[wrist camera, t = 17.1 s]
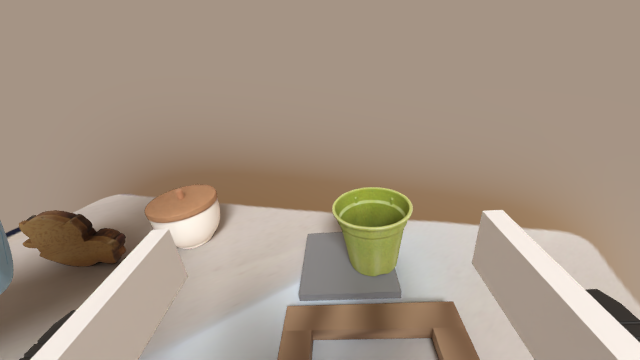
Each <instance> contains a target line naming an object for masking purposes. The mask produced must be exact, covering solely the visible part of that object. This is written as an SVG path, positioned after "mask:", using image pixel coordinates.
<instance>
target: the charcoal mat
mask: <svg viewBox="0 0 640 360" xmlns="http://www.w3.org/2000/svg"><path fill="white" fill-rule="evenodd" d="M377 298H401V289H400V285H399V282H398V278H397V274H396V270H395V268H394V269H393V270H392V271H391V272H390V273H388V274H381V275H378V276H367V275H364V274H361V273H359V272H358V271H356V270H355V269H354V268H353V266H352V264H351V262H350V259H349V254H348V250H347V246H346V243H345V239H344V235H343V232H334V233H315V234H308V237H307V244H306V250H305V257H304V264H303V270H302V277H301V284H300V290H299V299H300V301H312V300H344V299H377Z"/></svg>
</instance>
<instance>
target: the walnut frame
mask: <svg viewBox="0 0 640 360" xmlns="http://www.w3.org/2000/svg"><path fill="white" fill-rule="evenodd" d="M394 338H432V340H433V343H434V346H435V349H436V352H437V355H438V358H439V360H480V359H479V357H478V355H477V353H476V350H475V348H474V346H473V344H472V342H471V339H470V337H469V335H468V333H467V331H466V329H465V326H464V324H463V322H462V320H461V318H460V316H459V313H458V311H457V309H456V307H455V305H454V303H453V302H419V303H384V304H350V305H316V306H287V311H286V316H285V321H284V327H283V332H282V337H281V343H280V348H279V353H278V359H277V360H312V349H313V340H338V339H394Z"/></svg>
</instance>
